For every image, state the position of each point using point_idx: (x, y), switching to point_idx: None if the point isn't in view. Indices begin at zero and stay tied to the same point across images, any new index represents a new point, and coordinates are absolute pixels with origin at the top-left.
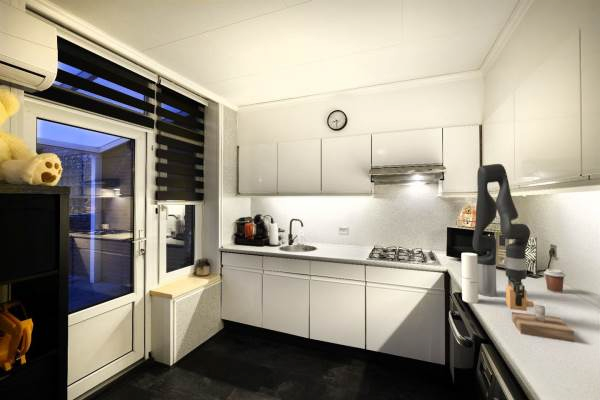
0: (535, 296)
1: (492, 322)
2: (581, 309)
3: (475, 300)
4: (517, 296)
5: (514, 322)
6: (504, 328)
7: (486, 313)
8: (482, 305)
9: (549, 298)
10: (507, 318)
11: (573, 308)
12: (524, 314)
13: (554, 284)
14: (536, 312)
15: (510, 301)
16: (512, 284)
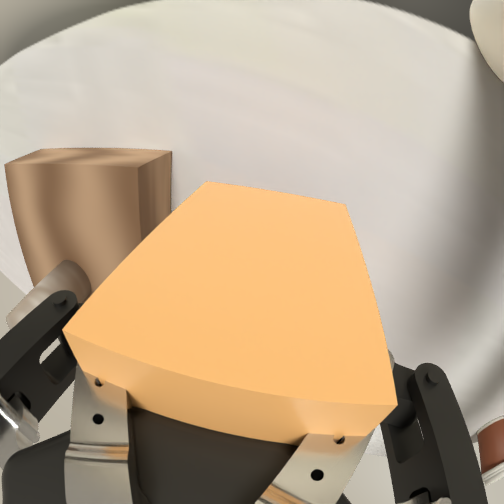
0: (491, 390)
1: (115, 31)
2: (372, 442)
3: (488, 40)
4: (45, 300)
5: (112, 151)
6: (63, 85)
7: (272, 15)
8: (448, 66)
9: (464, 413)
10: (209, 136)
11: (382, 435)
12: (125, 242)
13: (490, 445)
14: (31, 290)
15: (173, 215)
16: (69, 464)
